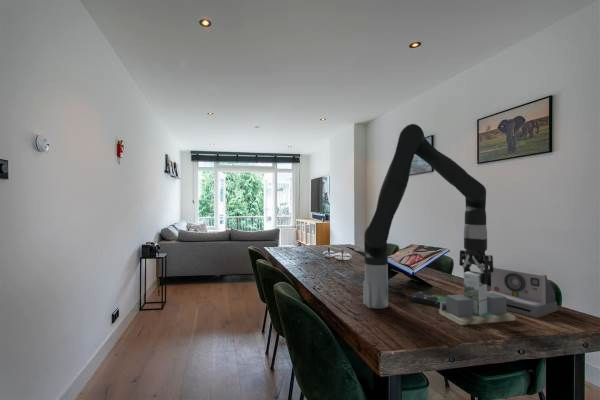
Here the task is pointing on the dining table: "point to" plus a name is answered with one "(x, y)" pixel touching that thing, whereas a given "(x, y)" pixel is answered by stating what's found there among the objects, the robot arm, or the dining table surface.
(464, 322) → the board
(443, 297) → the disk drive
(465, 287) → the syrup box
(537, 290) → the instant camera
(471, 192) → the robot arm
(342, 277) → the dining table surface
